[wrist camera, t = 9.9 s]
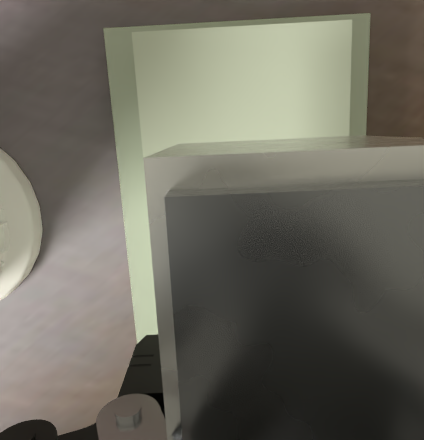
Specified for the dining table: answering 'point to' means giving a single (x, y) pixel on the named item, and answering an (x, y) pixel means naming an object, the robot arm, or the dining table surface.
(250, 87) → the stand
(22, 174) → the decorative container
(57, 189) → the dining table surface
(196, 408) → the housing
